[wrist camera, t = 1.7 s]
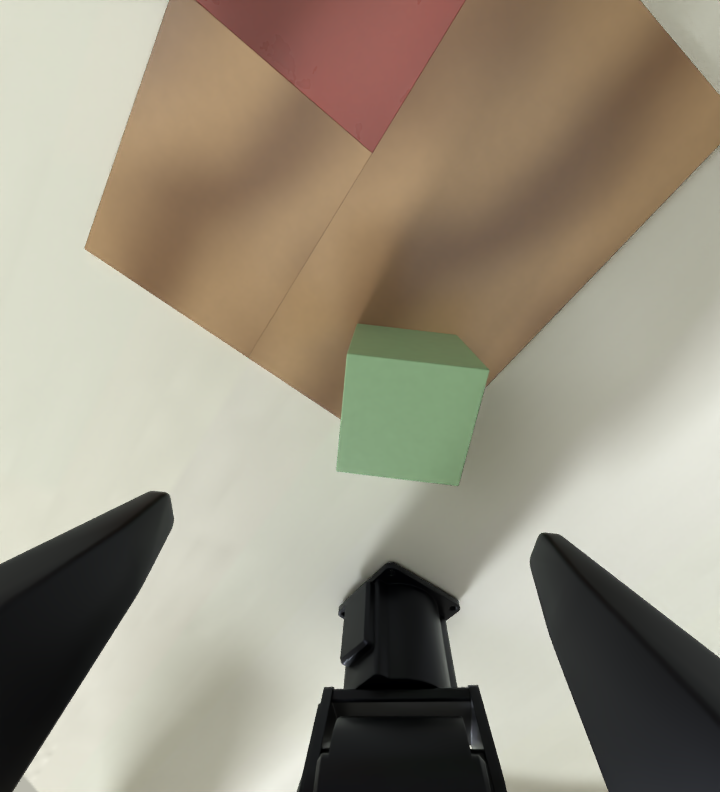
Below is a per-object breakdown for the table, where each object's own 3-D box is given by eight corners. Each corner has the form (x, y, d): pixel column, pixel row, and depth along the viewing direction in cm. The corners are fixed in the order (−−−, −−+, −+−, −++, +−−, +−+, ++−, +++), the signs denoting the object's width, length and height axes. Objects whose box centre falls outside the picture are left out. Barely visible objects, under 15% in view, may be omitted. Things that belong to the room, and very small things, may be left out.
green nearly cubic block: (457, 334, 17) (490, 369, 12) (437, 423, 19) (458, 486, 14) (356, 323, 17) (346, 353, 12) (348, 413, 19) (336, 471, 14)
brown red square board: (736, 123, 13) (742, 121, 13) (409, 463, 20) (410, 465, 20) (306, -388, 9) (305, -400, 9) (87, 248, 16) (83, 248, 16)
